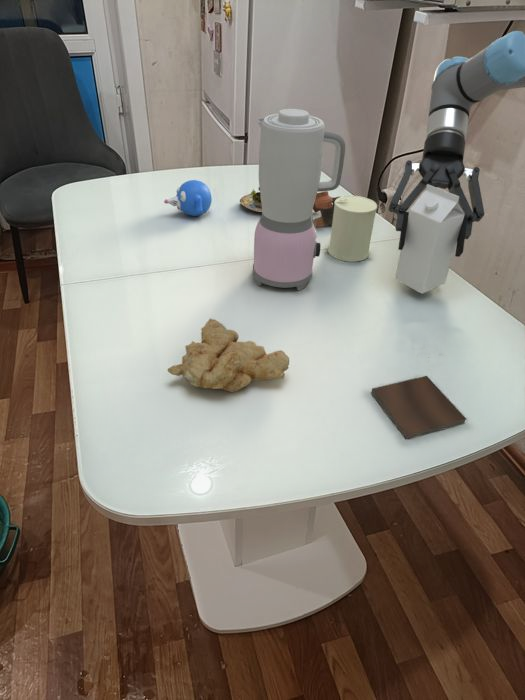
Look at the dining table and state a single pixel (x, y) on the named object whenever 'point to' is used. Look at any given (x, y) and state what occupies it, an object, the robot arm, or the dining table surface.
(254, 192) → the plate of food
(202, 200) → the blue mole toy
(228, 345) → the ginger root
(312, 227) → the blender
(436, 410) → the coaster board
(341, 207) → the can
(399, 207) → the robot arm
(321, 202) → the pottery mug
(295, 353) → the dining table surface
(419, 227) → the milk carton
